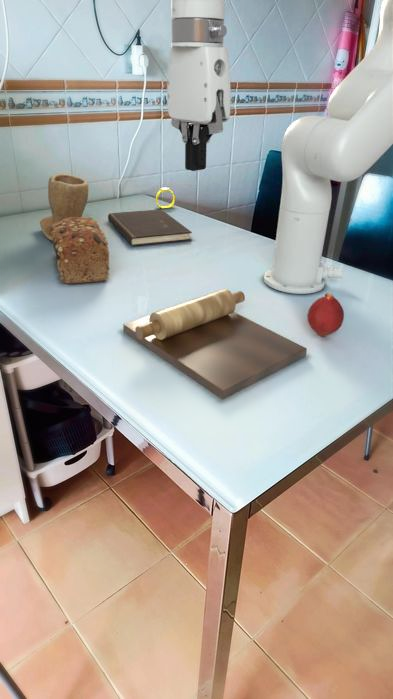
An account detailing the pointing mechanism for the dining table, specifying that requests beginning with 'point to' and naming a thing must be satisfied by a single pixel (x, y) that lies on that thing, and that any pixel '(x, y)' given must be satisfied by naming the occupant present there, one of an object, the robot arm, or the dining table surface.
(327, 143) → the robot arm
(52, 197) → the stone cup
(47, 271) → the dining table surface
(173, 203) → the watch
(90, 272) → the bread
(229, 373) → the pastry board
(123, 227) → the hardcover book
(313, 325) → the onion
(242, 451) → the dining table surface
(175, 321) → the rolling pin
